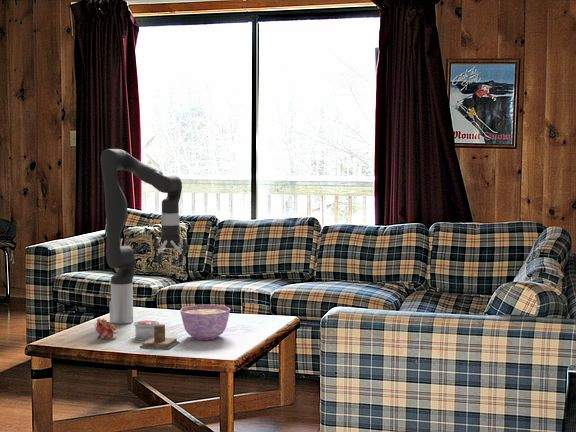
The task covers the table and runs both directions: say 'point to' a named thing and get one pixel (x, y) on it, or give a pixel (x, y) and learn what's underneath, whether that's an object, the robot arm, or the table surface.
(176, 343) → the mat
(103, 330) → the flower
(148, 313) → the table surface
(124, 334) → the table surface
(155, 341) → the lid
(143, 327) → the jam crock
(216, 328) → the bowl of food
